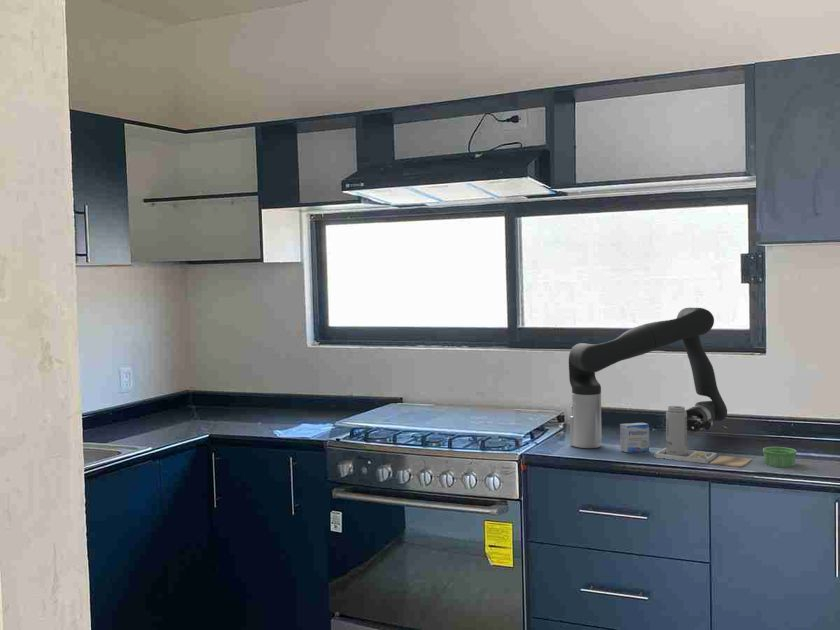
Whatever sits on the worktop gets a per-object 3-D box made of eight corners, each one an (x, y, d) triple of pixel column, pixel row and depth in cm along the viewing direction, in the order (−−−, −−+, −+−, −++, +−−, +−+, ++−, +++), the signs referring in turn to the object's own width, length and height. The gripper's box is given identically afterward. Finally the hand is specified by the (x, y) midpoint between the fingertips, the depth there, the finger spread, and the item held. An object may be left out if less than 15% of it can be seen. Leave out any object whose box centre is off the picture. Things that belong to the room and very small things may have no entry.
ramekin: (757, 465, 240) (757, 450, 240) (770, 460, 246) (770, 445, 246) (789, 469, 233) (789, 454, 233) (801, 464, 240) (801, 449, 240)
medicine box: (626, 453, 258) (626, 425, 258) (619, 450, 262) (619, 423, 262) (649, 451, 260) (649, 424, 260) (642, 448, 264) (642, 421, 264)
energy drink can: (664, 454, 256) (664, 405, 255) (685, 454, 255) (685, 405, 254) (667, 458, 250) (667, 408, 249) (688, 458, 249) (688, 408, 249)
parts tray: (654, 457, 251) (654, 453, 251) (665, 451, 260) (665, 447, 260) (706, 463, 243) (706, 458, 242) (716, 456, 251) (716, 452, 251)
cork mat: (710, 464, 242) (710, 462, 242) (720, 456, 251) (720, 455, 251) (742, 467, 237) (742, 466, 237) (751, 460, 246) (751, 458, 246)
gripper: (674, 405, 273) (658, 412, 260) (719, 408, 265) (704, 415, 252) (674, 427, 274) (658, 435, 260) (718, 431, 266) (704, 440, 252)
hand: (681, 426), depth 256 cm, fingers open, 8 cm apart
